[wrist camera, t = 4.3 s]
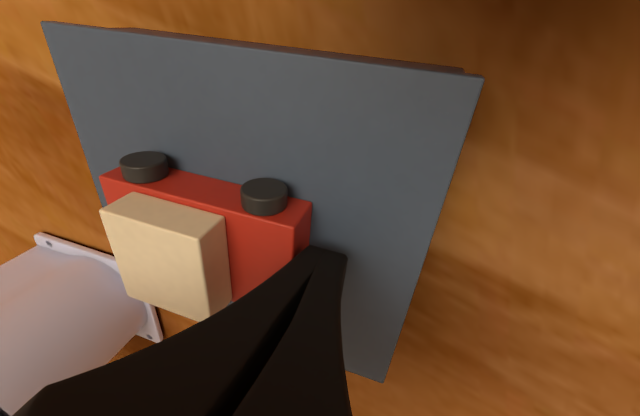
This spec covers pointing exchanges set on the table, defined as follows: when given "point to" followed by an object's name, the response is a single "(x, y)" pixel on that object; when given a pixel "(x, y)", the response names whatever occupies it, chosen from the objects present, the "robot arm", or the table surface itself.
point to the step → (287, 144)
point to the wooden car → (197, 233)
